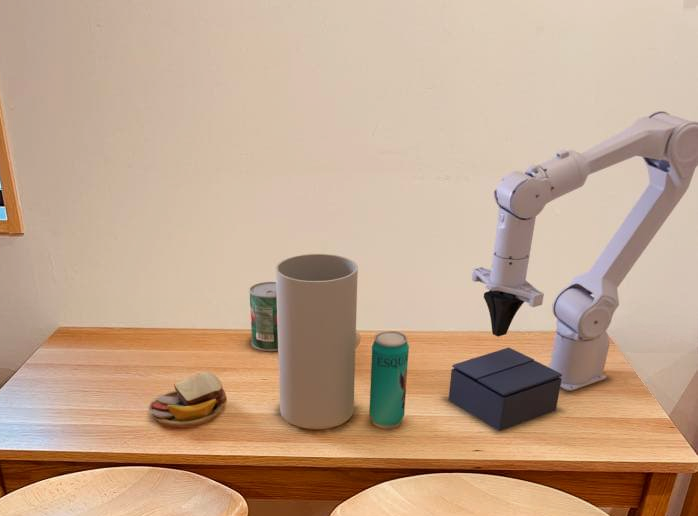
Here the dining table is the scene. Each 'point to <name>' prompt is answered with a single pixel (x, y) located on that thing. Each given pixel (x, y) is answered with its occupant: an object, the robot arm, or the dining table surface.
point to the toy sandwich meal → (189, 401)
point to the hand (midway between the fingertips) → (499, 334)
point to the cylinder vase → (316, 339)
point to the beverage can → (388, 379)
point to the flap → (492, 363)
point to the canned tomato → (264, 316)
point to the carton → (507, 394)
